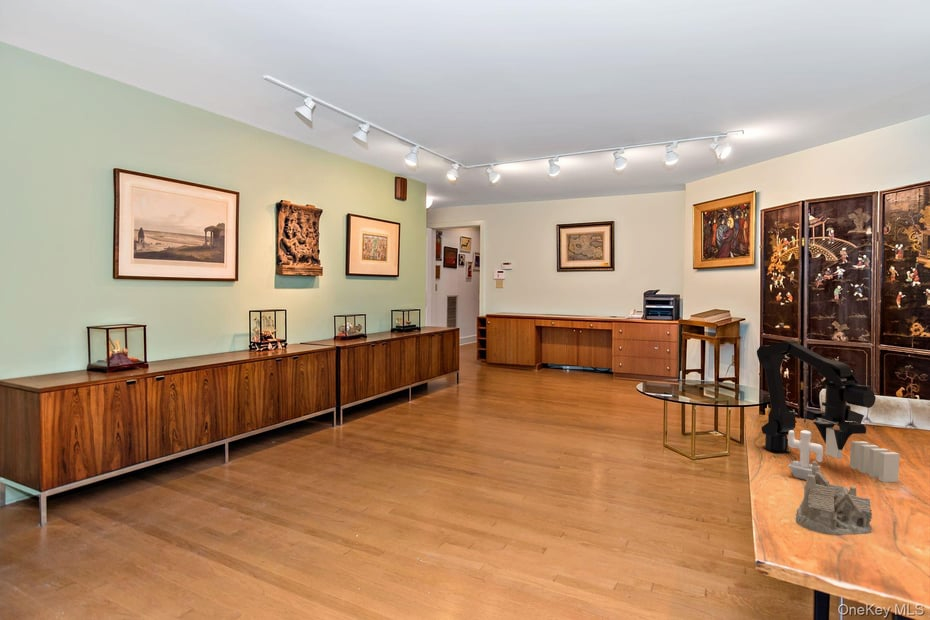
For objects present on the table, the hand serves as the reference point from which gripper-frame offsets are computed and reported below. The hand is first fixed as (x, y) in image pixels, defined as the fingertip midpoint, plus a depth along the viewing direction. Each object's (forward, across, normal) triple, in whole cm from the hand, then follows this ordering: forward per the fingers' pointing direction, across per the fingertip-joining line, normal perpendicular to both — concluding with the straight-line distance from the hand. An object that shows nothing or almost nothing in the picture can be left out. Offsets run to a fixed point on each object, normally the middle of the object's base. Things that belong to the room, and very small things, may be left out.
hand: (833, 447), depth 167 cm
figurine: (+8, -6, +15) cm, 18 cm away
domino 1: (+3, 0, 0) cm, 3 cm away
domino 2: (+8, +1, -10) cm, 13 cm away
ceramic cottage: (+8, -37, +31) cm, 49 cm away
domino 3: (+8, -2, -10) cm, 13 cm away
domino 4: (+8, -6, -10) cm, 14 cm away
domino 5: (+8, -10, -10) cm, 16 cm away
